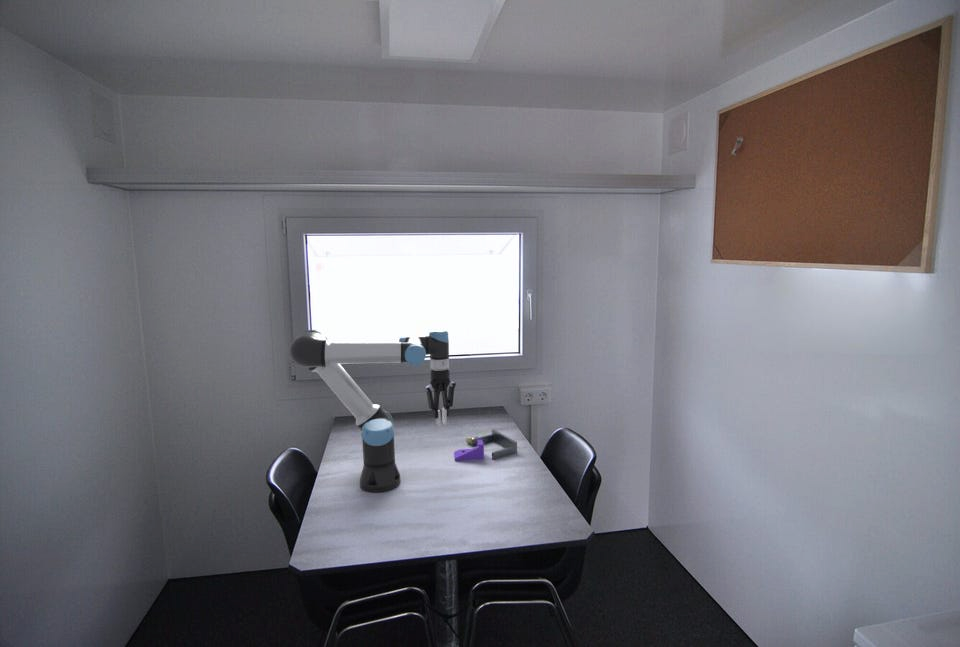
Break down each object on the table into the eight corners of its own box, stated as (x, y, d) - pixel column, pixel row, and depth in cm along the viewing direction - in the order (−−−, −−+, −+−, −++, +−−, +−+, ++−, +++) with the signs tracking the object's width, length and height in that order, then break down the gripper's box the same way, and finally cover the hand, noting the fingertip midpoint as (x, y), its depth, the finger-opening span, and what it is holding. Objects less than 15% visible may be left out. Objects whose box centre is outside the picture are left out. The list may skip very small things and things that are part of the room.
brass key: (471, 445, 229) (471, 438, 228) (466, 443, 231) (466, 436, 230) (479, 441, 233) (479, 434, 232) (474, 439, 235) (474, 432, 234)
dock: (493, 459, 213) (493, 448, 212) (471, 445, 228) (470, 434, 227) (517, 453, 219) (517, 442, 218) (494, 439, 234) (493, 429, 233)
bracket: (482, 453, 220) (481, 438, 219) (483, 460, 214) (483, 444, 212) (454, 455, 219) (453, 439, 218) (455, 461, 212) (454, 446, 211)
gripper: (426, 373, 197) (428, 431, 201) (461, 367, 205) (462, 423, 209) (418, 369, 204) (420, 425, 207) (452, 363, 211) (453, 418, 215)
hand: (441, 424), depth 208 cm, fingers open, 2 cm apart
